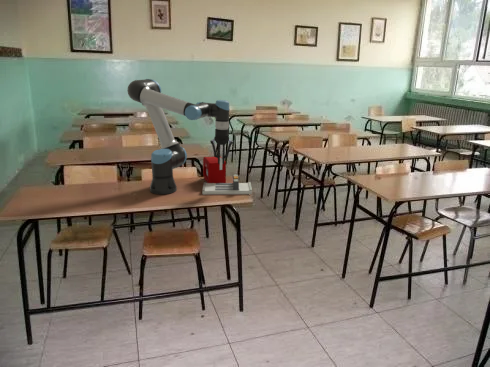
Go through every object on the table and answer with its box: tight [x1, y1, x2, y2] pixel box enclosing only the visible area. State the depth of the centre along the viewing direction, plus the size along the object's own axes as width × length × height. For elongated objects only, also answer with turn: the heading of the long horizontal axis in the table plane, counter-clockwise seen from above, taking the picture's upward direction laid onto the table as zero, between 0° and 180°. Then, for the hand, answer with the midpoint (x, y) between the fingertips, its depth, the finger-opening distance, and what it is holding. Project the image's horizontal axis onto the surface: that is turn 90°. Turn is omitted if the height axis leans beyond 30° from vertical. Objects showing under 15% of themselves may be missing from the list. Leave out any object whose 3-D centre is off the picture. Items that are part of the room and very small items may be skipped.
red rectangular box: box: [202, 155, 227, 183], centre depth 249 cm, size 16×11×15 cm
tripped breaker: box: [232, 175, 240, 182], centre depth 233 cm, size 3×3×5 cm
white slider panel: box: [202, 174, 253, 195], centre depth 233 cm, size 28×15×8 cm, turn 93°
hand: (220, 169), depth 231 cm, fingers closed
